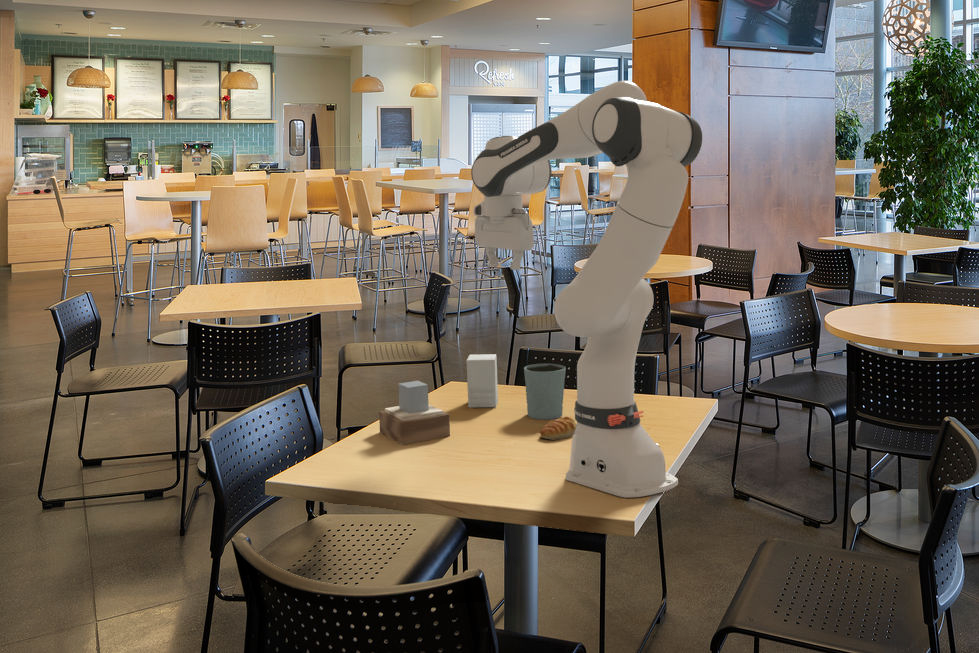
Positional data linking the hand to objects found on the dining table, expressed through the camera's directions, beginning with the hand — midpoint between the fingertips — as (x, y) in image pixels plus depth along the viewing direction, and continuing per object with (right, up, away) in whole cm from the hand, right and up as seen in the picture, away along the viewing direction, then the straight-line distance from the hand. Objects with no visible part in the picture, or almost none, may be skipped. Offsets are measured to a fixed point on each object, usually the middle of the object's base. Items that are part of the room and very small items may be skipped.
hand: (504, 268), depth 208 cm
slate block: (-21, -33, -3) cm, 39 cm away
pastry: (+12, -39, -5) cm, 41 cm away
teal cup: (+10, -36, +12) cm, 39 cm away
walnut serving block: (-21, -38, -2) cm, 44 cm away
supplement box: (-5, -34, +23) cm, 42 cm away
